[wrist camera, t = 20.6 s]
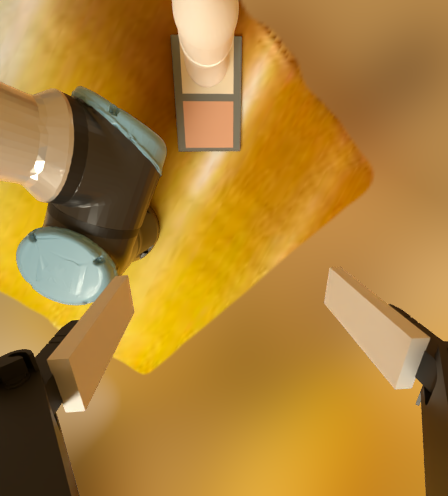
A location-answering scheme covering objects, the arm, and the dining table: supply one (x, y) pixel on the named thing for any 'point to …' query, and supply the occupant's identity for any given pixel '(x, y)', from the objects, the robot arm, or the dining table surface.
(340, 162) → the dining table surface
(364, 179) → the dining table surface
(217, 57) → the water bottle
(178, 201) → the dining table surface
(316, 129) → the dining table surface
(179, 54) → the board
